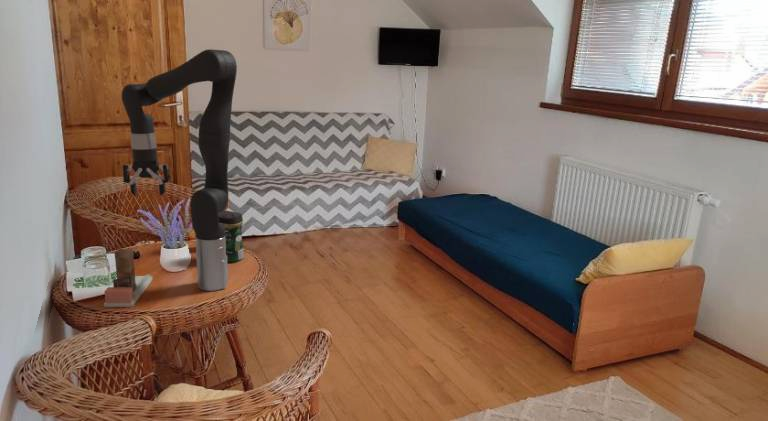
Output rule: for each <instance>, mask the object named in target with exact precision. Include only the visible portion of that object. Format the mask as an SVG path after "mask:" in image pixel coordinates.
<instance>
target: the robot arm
mask: <svg viewBox="0 0 768 421" xmlns="http://www.w3.org/2000/svg"><path fill="white" fill-rule="evenodd" d="M237 68H238V66H237V60H236V57H235V56H234V55H233V53H231V52H230V51H228V50H223V49H222V50H221V49H213V48H212V49H211V48H210V49H204V50H202V51H201V52H199V53H197V54H196V55H195V56H193V57H192V58H190V59H188V60H187V61H186V62H184V63H183V64H180V65H179V66H177V67H175V68H173V69H170V70H167V71H165V72H162V73H161V74H157V75H155V76H152V77H151V78H149V79H148V80H147V82H145V83H133V84H132V83H131V84H127V85H125V86H124V87H123V88H122V91H121V101H122V104H123V107H124V109H125V112H126V115H127V117H128V119H129V126H130V146H131V155H132V164H130V163H125V164H123V165H122V171H123V172H122V175H123V176H122V179H123V183H125V184H128V185H129V187H130V193H131V194H132V196H137V195H138V190H137V189H138V188H137V186H138V185H137V183H136V182H137V181H138V179H142V178H148V179H151V178H153V179H154V180H155V181H157V183H158V189H159V196H163V195H165V193H166V184H167V183H169V182H170V181H171V174H170V169H169V168H170V166H169V164H168V163H165V164H160V163H159V159H158V150H157V148H158V147H157V146H158V144H157V138H156V135H155V134H156V133H155V124H154V123H155V122H154V118H153V116H152V115H151V114H148V113H146V112H144V109H143V107H150V106H153V105H155V104H157V103H159V102H161V101H162V100H163V99H166V98H168V97H169V98H170V97H171V96H172V97H173V95H176V94H178V93H180V92H182V91H183V90H184V89H186V87H188V86H190V85H192V84H197V83H202V82H211V83H212V85H211V95H210V99H209V102H208V103H207V106H206V108H205V110H204V112H203V113H202V116H201V119H200V121H199V125H198V126H199V127H198V139H197V142H198V149H199V153H200V155H201V159H202V161H203V163H204V167H205V179H204V187H203V188H201V189H199V190H196V191H195V192H194V193H192V195H191V197H190V217H191V224H192V229H193V231H194V233H195V235H194V236H195V255H196V274H197V276H196V277H197V281H196V282H197V288H198V289H199V290H201V291H209V292H210V291H212V292H213V291H219V290H225V289H226V288H227V286H228V283H229V271H228V270H229V269H228V268H229V267H228V264H229V262H227V255H226V241H225V228H224V226H222V225H219V218H218V213H220V212H222V211H223V210H225V209H226V208H227V206H228V203H229V184H228V183H229V182H228V181H229V179H228V178H229V176H228V172H229V171H228V170H229V169H228V168H229V167H228V166H229V154H230V153H229V152H230V138H231V120H232V119H231V118H232V108H233V107H232V106H233V98H234V90H235V85H236V80H237V72H238V71H237ZM132 170H133V171H134V172H135V173H134V175H133V176H132V178H131V177H130V173H131V172H130V171H132ZM159 170H161V171H162V172H163V177H162V175H161V174H160V173H159Z"/></svg>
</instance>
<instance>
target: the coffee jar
mask: <svg viewBox="0 0 768 421" xmlns="http://www.w3.org/2000/svg"><path fill="white" fill-rule="evenodd" d="M218 218H219V225H222V226H224V228H225V241H226V255H227V263H235V262H236V263H237V262H239V261H242V260H243V259H244V246H243V234H242V232H243V230H242V228H243V223H244V221H243V220H244V219H243V214H242V213H241V212H237V211H231V210H230V211H229V210H227V209H226V210H225V209H224V210H223V211H222V212H220V213H218Z"/></svg>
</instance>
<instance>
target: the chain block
mask: <svg viewBox="0 0 768 421" xmlns="http://www.w3.org/2000/svg"><path fill="white" fill-rule="evenodd" d="M114 262H115V270H116V278H114V279H112V285H113V287H123V286H124V287H133V291H134V290H135V289H136V287H137V284H136V283H135V276H136V273H135V272H136V271H135V258H134V248H118V249H117V250H116V251H115V252H114Z"/></svg>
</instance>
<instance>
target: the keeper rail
mask: <svg viewBox="0 0 768 421" xmlns="http://www.w3.org/2000/svg"><path fill="white" fill-rule="evenodd" d="M152 281H153V275H150V273H149V274H145V275H135V283H136V284H137V287H136V289H135V290H134V291H133V287H124V286H123V287H114V286H113V287H112V286H107V288H106V289H105V290H104V298H105V301H104V303H103V307H104V308H112V307H113V308H117V307H118V308H120V307H121V308H122V307H123V308H126V307H127V308H128V307H134V306H135V303H136V302H137V301H138V300H139V298H140V297H141V295H143V294H144V292H145V291H146V289H147V288H148V286H149V285H150V283H151V282H152Z"/></svg>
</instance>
